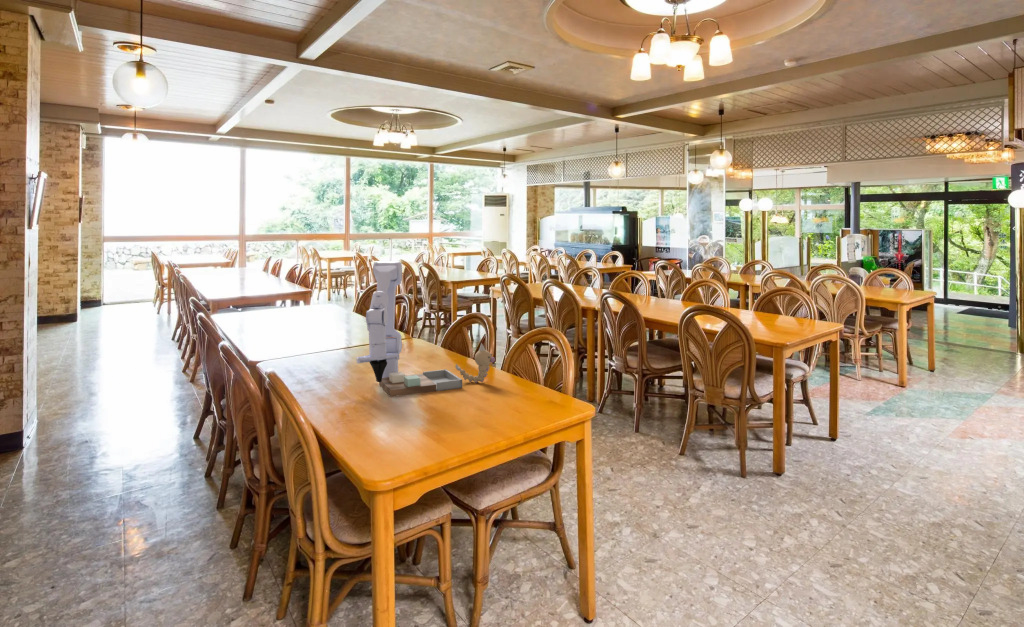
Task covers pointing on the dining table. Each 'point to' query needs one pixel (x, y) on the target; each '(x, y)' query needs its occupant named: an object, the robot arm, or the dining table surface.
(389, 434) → the dining table surface
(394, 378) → the tile
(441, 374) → the tray
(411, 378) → the grey-green block
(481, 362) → the toy
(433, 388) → the board
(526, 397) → the dining table surface
